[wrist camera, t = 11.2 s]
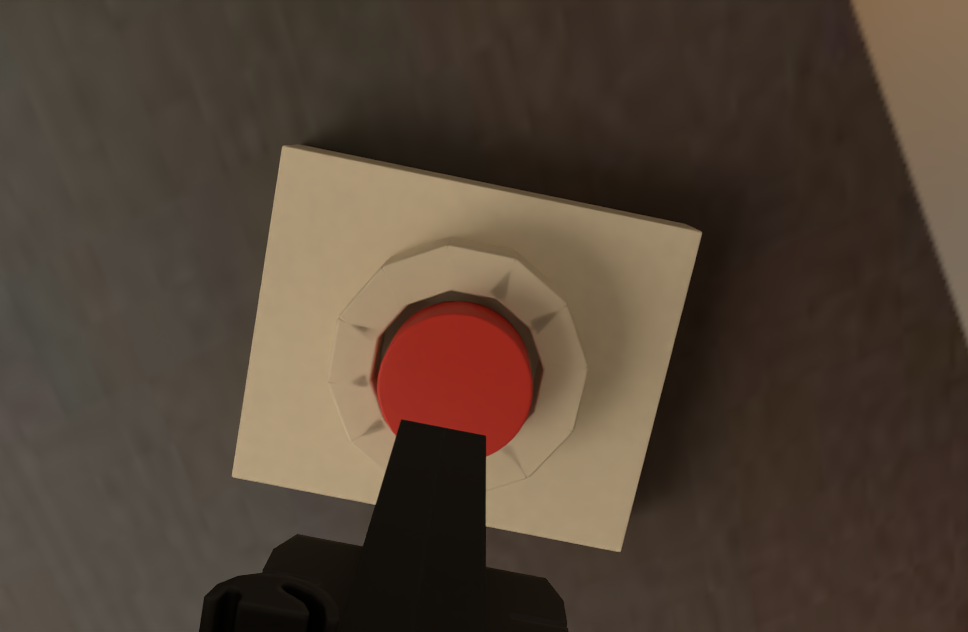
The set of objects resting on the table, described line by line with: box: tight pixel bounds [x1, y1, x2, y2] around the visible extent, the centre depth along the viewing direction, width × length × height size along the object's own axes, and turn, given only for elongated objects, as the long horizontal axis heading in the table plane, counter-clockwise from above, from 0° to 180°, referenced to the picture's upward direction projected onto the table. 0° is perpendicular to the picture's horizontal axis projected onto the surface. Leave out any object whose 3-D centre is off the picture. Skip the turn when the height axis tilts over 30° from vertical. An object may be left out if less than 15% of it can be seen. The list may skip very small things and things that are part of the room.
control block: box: [232, 145, 702, 552], centre depth 25 cm, size 12×10×4 cm
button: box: [377, 301, 533, 457], centre depth 23 cm, size 4×4×2 cm
